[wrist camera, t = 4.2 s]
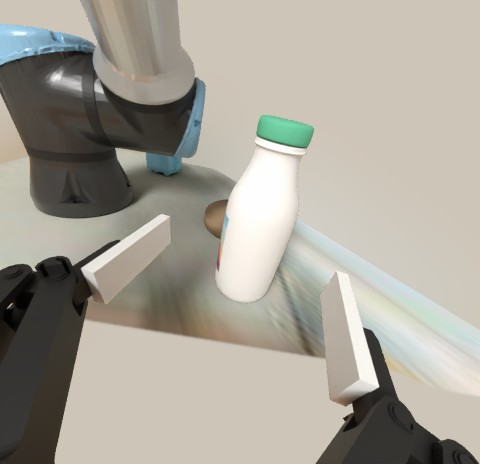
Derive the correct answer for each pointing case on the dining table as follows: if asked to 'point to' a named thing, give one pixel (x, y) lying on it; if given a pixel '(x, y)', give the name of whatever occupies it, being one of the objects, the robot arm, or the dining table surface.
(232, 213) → the milk bottle
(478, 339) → the dining table surface
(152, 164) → the light blue box
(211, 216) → the brown round coaster
